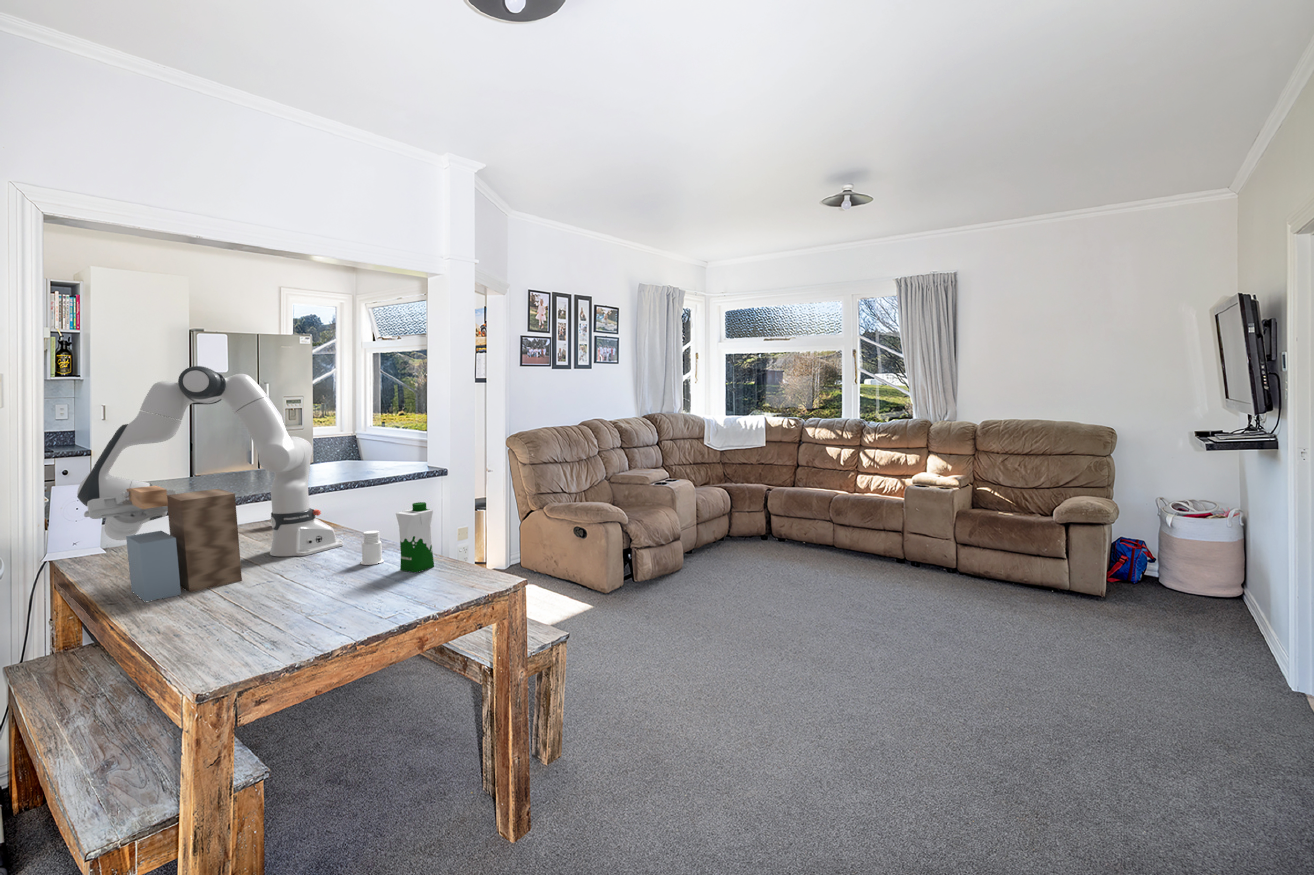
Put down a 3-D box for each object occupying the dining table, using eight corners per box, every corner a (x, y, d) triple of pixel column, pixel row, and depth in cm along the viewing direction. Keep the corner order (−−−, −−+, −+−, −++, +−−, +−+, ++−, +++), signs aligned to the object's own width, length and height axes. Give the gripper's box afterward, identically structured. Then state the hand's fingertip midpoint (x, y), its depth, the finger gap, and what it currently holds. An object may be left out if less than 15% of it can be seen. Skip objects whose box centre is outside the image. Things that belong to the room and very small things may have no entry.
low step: (166, 584, 189) (161, 530, 187) (180, 594, 180) (175, 537, 179) (131, 591, 183) (126, 536, 181) (145, 602, 174) (139, 544, 172)
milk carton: (438, 566, 203) (435, 503, 201) (415, 574, 195) (412, 508, 193) (418, 562, 207) (415, 501, 205) (395, 570, 199) (391, 506, 197)
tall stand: (225, 571, 201) (218, 488, 198) (241, 580, 192) (234, 493, 189) (174, 582, 191) (166, 495, 188) (189, 592, 182) (181, 500, 179)
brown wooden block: (146, 496, 189) (145, 481, 189) (167, 505, 176) (166, 489, 176) (122, 499, 185) (121, 484, 185) (142, 509, 172) (140, 492, 171)
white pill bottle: (374, 566, 204) (373, 534, 203) (354, 565, 205) (353, 534, 205) (389, 560, 212) (388, 529, 211) (370, 559, 213) (369, 529, 212)
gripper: (80, 507, 186) (87, 488, 177) (168, 496, 201) (177, 478, 193) (85, 527, 184) (92, 509, 176) (172, 515, 200) (182, 497, 192)
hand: (137, 493), depth 185 cm, fingers closed on brown wooden block, 3 cm apart
